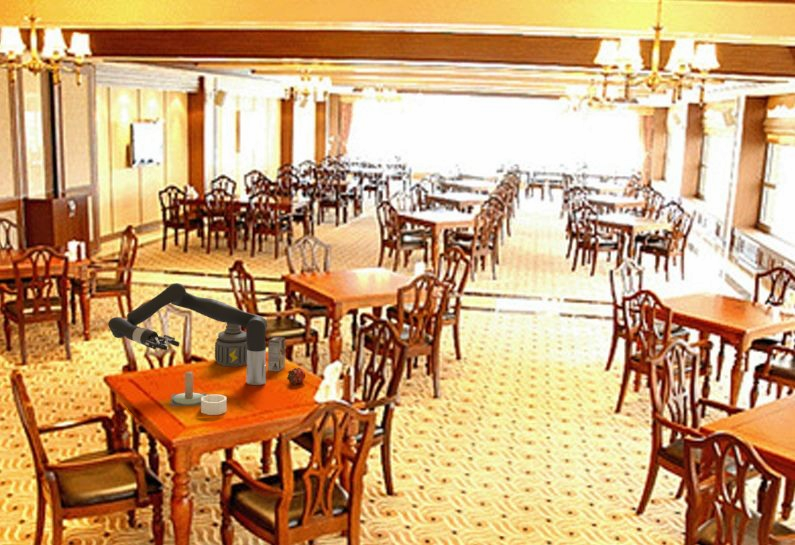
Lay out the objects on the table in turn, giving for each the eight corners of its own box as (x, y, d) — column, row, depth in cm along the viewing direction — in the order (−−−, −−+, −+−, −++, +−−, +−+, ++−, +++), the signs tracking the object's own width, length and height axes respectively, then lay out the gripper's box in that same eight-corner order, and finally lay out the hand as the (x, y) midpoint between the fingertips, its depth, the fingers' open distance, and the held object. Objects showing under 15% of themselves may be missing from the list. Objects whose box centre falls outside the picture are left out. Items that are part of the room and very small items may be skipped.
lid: (204, 394, 405) (204, 367, 403) (204, 404, 392) (204, 377, 389) (173, 395, 402) (173, 368, 400) (172, 405, 389) (172, 377, 386)
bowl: (225, 406, 392) (226, 394, 391) (226, 415, 381) (226, 402, 380) (201, 407, 389) (201, 394, 388) (201, 416, 379) (201, 403, 378)
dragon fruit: (290, 390, 424) (298, 386, 435) (304, 381, 422) (311, 377, 434) (281, 375, 424) (289, 371, 436) (295, 366, 423) (303, 363, 434)
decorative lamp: (251, 367, 452) (252, 311, 446) (215, 367, 447) (215, 311, 442) (249, 356, 470) (250, 303, 464) (214, 357, 465) (214, 303, 460)
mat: (206, 394, 407) (206, 393, 406) (206, 406, 391) (206, 405, 391) (171, 395, 403) (171, 394, 403) (170, 407, 388) (170, 406, 388)
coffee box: (273, 365, 456) (274, 336, 453) (285, 366, 455) (285, 337, 452) (267, 370, 447) (268, 340, 444) (279, 371, 446) (279, 341, 443)
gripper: (135, 332, 394) (163, 341, 388) (156, 326, 407) (183, 335, 401) (133, 347, 395) (161, 357, 389) (154, 341, 408) (181, 350, 402)
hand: (172, 346), depth 395 cm, fingers open, 8 cm apart
